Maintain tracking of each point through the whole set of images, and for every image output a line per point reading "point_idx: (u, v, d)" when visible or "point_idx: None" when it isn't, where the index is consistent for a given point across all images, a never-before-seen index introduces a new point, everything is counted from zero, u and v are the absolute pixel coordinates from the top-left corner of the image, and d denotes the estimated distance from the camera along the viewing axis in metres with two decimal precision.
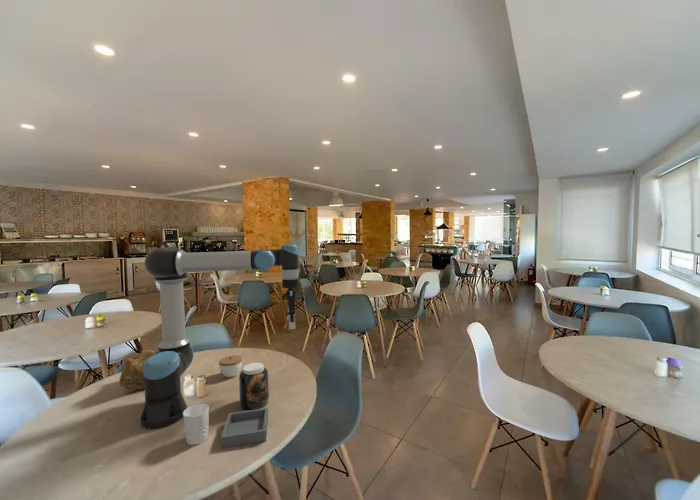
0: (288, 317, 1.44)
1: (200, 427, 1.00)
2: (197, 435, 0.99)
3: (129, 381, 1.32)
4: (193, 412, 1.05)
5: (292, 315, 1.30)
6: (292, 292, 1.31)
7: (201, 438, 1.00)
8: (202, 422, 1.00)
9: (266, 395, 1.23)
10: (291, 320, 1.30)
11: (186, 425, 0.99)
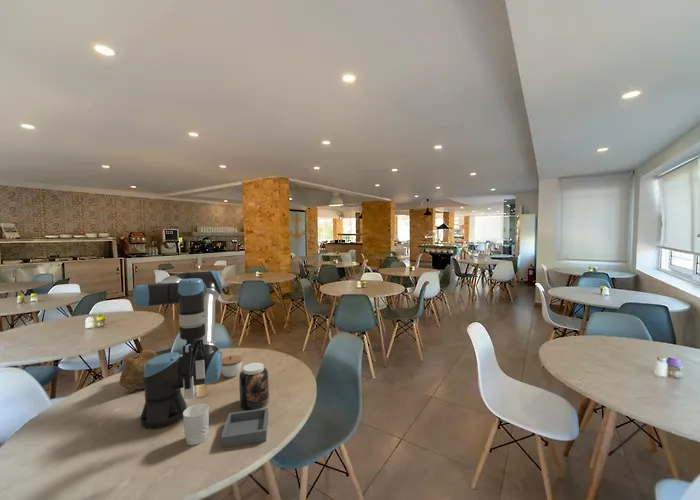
0: (196, 374, 1.08)
1: (200, 427, 1.00)
2: (197, 435, 0.99)
3: (129, 381, 1.32)
4: (193, 412, 1.05)
5: (187, 380, 0.93)
6: (188, 347, 0.95)
7: (201, 438, 1.00)
8: (202, 422, 1.00)
9: (266, 395, 1.23)
10: (186, 387, 0.94)
11: (186, 425, 0.99)
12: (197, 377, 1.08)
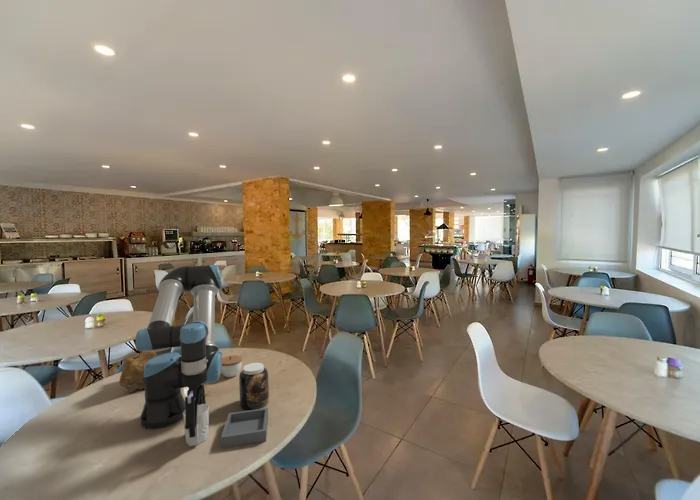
0: None
1: (200, 427, 1.00)
2: None
3: (129, 381, 1.32)
4: None
5: (192, 428, 0.97)
6: (191, 399, 0.96)
7: (201, 438, 1.00)
8: (202, 422, 1.00)
9: (266, 395, 1.23)
10: (191, 435, 0.97)
11: None
12: None
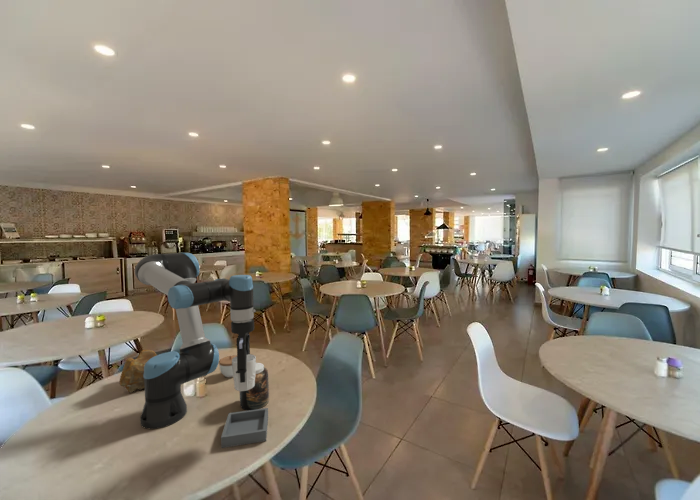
0: None
1: (249, 374, 1.02)
2: None
3: (129, 381, 1.32)
4: None
5: (242, 374, 1.00)
6: (242, 344, 0.98)
7: (250, 385, 1.03)
8: (251, 369, 1.03)
9: (266, 395, 1.23)
10: (241, 380, 1.00)
11: None
12: None
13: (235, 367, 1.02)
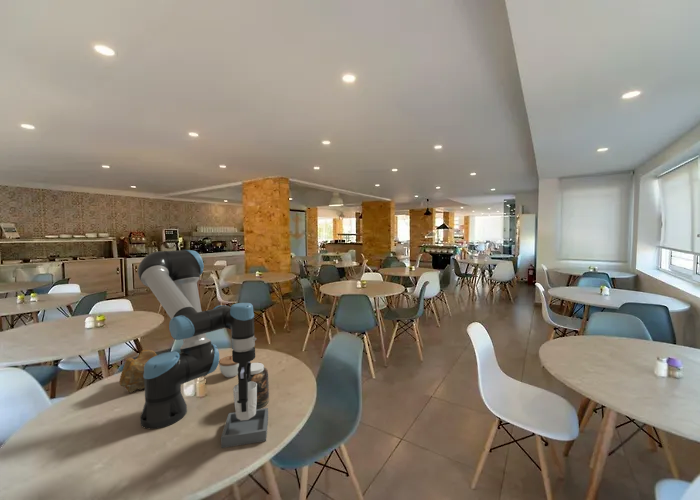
0: None
1: (250, 402, 1.03)
2: None
3: (129, 381, 1.32)
4: None
5: (244, 403, 1.00)
6: (243, 374, 0.99)
7: (251, 413, 1.03)
8: (252, 398, 1.03)
9: (266, 395, 1.23)
10: (243, 410, 1.00)
11: (237, 400, 1.02)
12: None
13: (236, 396, 1.02)
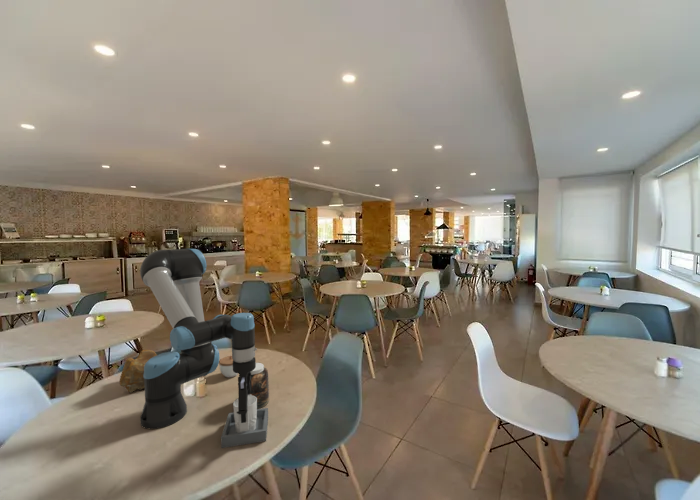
0: None
1: (250, 417, 1.03)
2: None
3: (129, 381, 1.32)
4: None
5: (243, 414, 0.99)
6: (243, 384, 0.99)
7: (251, 428, 1.03)
8: (252, 412, 1.03)
9: (266, 395, 1.23)
10: (242, 420, 0.99)
11: (237, 415, 1.02)
12: None
13: (236, 411, 1.02)
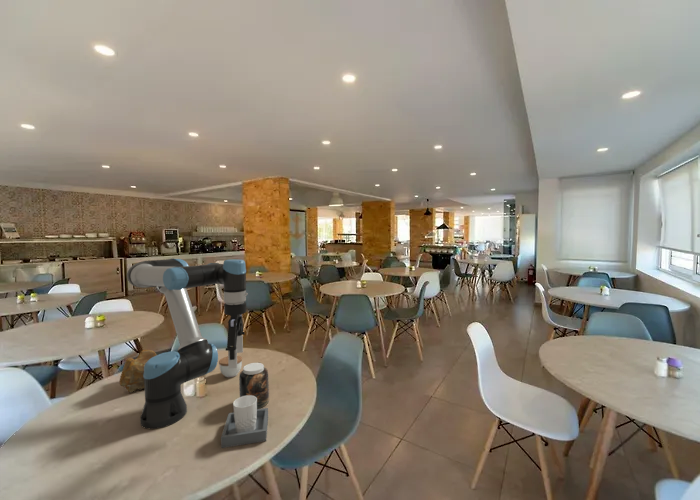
0: None
1: (250, 417, 1.03)
2: (247, 425, 1.02)
3: (129, 381, 1.32)
4: (241, 403, 1.08)
5: (232, 351, 1.02)
6: (233, 322, 1.03)
7: (251, 428, 1.03)
8: (252, 413, 1.03)
9: (266, 395, 1.23)
10: (231, 357, 1.02)
11: (237, 415, 1.02)
12: (236, 351, 1.17)
13: (236, 411, 1.02)
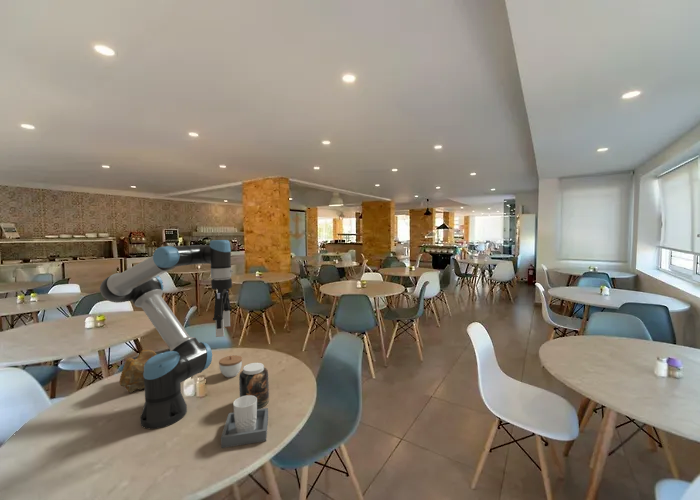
0: None
1: (250, 417, 1.03)
2: (247, 425, 1.02)
3: (129, 381, 1.32)
4: (241, 403, 1.08)
5: (219, 321, 1.13)
6: (220, 294, 1.14)
7: (251, 428, 1.03)
8: (252, 412, 1.03)
9: (266, 395, 1.23)
10: (218, 326, 1.13)
11: (237, 415, 1.02)
12: (224, 325, 1.27)
13: (236, 411, 1.02)
